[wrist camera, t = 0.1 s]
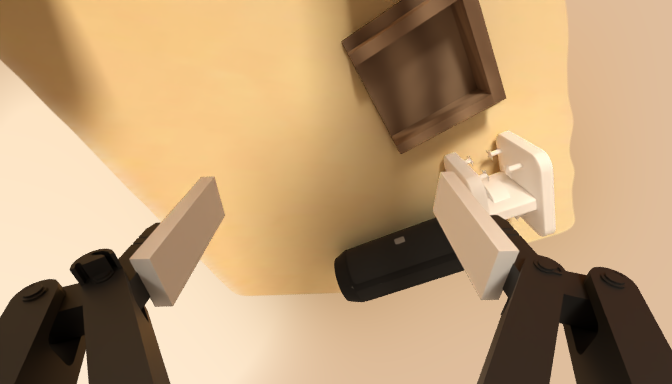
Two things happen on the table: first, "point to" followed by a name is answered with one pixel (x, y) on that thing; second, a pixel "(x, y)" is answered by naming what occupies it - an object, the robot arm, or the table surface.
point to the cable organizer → (512, 182)
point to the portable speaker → (396, 262)
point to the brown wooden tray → (426, 67)
